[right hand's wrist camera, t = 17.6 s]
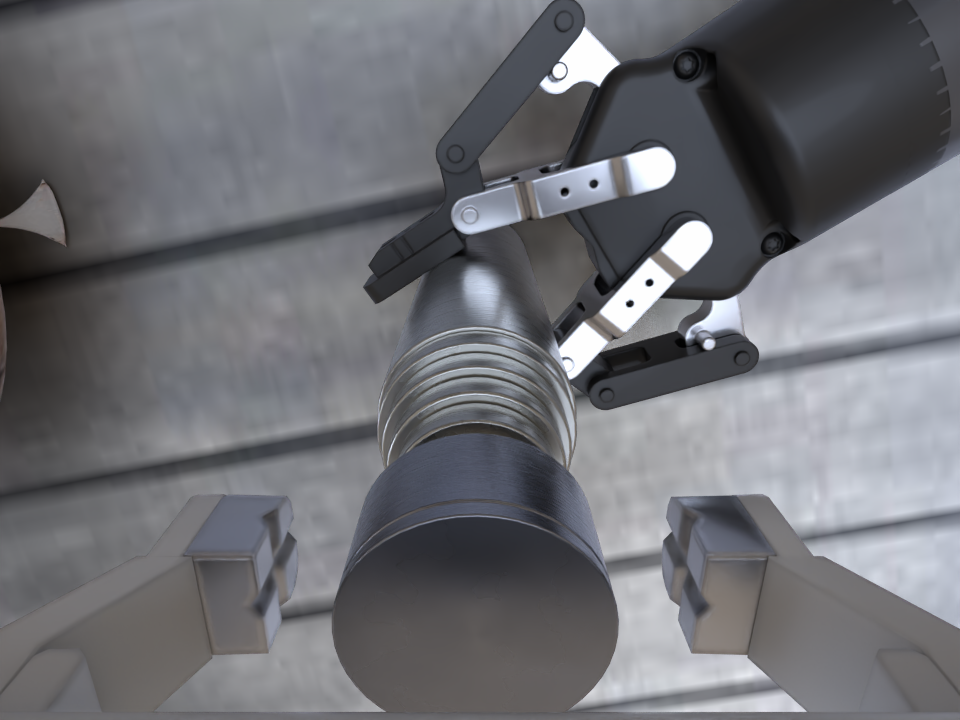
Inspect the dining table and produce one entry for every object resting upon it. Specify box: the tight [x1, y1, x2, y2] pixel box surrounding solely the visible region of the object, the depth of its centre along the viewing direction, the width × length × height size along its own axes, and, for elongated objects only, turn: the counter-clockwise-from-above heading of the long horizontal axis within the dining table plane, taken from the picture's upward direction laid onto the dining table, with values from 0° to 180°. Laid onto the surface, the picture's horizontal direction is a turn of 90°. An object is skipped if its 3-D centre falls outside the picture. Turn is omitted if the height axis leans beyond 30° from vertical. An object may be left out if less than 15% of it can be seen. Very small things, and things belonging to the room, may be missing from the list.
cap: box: [332, 433, 619, 712], centre depth 9 cm, size 4×4×2 cm
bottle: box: [377, 225, 577, 471], centre depth 19 cm, size 4×4×21 cm
